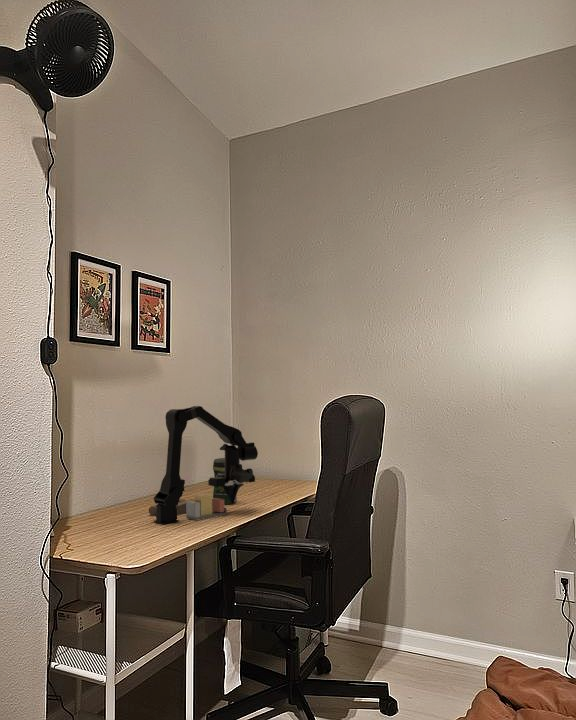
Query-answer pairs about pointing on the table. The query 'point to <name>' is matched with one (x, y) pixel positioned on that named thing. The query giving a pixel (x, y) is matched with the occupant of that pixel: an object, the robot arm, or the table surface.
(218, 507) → the block
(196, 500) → the block
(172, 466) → the robot arm
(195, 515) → the vise
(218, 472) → the coffee jar
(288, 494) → the table surface
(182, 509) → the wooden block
